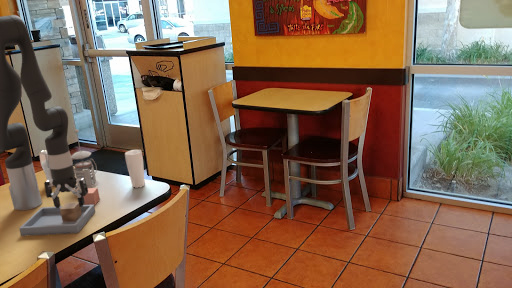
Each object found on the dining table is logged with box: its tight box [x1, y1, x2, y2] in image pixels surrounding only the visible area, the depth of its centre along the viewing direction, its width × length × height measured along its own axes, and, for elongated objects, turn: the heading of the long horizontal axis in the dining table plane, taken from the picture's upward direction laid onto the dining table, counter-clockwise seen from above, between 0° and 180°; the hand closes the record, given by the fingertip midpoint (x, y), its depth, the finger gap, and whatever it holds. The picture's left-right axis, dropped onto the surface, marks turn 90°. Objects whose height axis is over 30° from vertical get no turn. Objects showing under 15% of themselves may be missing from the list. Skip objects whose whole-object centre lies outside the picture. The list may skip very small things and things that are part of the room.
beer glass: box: [38, 149, 55, 187], centre depth 199 cm, size 7×7×15 cm
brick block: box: [84, 187, 101, 206], centre depth 178 cm, size 5×5×5 cm
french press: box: [71, 129, 100, 190], centre depth 193 cm, size 10×12×25 cm
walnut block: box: [60, 201, 82, 222], centre depth 164 cm, size 5×5×5 cm
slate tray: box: [18, 205, 96, 237], centre depth 163 cm, size 20×16×3 cm
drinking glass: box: [124, 149, 146, 189], centre depth 189 cm, size 7×7×15 cm
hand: (70, 206), depth 163 cm, fingers open, 8 cm apart
